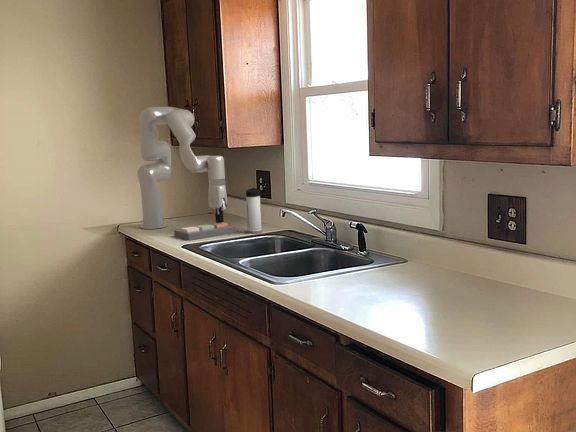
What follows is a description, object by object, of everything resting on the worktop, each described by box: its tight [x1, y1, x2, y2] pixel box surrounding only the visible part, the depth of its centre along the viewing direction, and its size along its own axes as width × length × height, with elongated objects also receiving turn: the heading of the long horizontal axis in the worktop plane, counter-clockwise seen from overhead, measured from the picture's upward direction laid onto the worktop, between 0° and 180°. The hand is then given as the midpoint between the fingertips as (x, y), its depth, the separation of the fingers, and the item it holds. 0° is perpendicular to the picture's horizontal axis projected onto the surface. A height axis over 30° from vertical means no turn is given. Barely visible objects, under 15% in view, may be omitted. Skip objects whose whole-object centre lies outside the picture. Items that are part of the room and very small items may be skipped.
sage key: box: [195, 223, 214, 230], centre depth 296 cm, size 6×6×2 cm
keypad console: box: [173, 224, 237, 242], centre depth 296 cm, size 14×24×3 cm, turn 127°
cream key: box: [180, 226, 199, 233], centre depth 292 cm, size 6×6×2 cm
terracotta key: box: [209, 222, 229, 228], centre depth 301 cm, size 6×6×2 cm
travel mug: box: [245, 187, 262, 235], centre depth 297 cm, size 6×7×20 cm
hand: (219, 222), depth 300 cm, fingers closed
